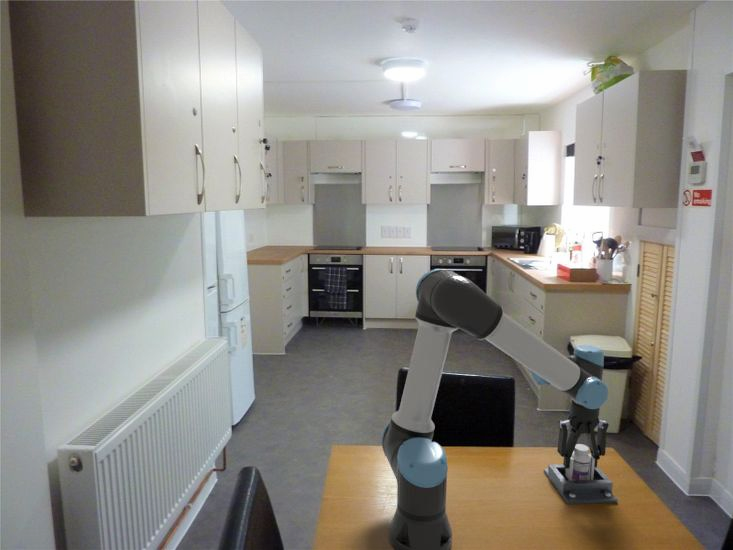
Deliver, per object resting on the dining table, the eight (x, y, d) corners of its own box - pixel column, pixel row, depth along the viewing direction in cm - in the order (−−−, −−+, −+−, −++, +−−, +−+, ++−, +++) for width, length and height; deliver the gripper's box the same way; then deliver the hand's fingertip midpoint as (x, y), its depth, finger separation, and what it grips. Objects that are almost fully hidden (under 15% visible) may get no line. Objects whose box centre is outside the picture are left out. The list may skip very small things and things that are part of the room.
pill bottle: (572, 471, 147) (574, 440, 146) (591, 478, 144) (594, 446, 142) (566, 479, 143) (568, 447, 142) (585, 486, 140) (588, 454, 138)
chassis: (617, 502, 136) (618, 489, 136) (567, 503, 136) (568, 490, 135) (588, 470, 152) (589, 458, 152) (543, 471, 152) (544, 459, 151)
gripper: (610, 395, 144) (603, 469, 148) (547, 396, 143) (542, 471, 147) (624, 406, 137) (617, 484, 140) (558, 407, 136) (553, 485, 139)
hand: (579, 477), depth 144 cm, fingers open, 5 cm apart
